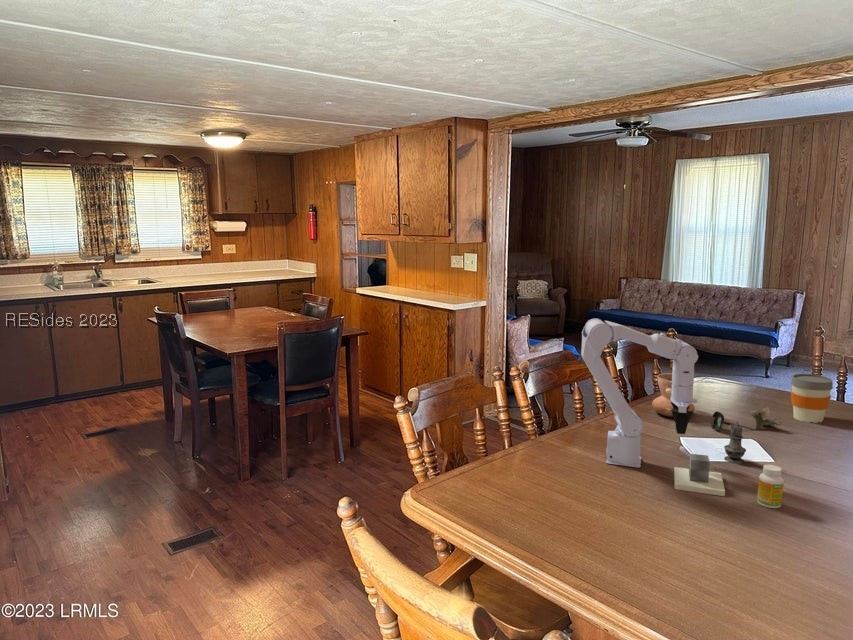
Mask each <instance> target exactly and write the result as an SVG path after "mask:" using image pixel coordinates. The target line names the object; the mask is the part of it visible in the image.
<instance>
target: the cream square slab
mask: <svg viewBox="0 0 853 640" xmlns="http://www.w3.org/2000/svg"><path fill="white" fill-rule="evenodd" d="M673 473H674V474H673V476H674V477H673V478H674V480H673V481H674V483H673V484H674V490H679V491H686V492H692V493H699V494H700V493H701V494H707V495H713V496H719V497H720V496H722V497H725V495H726V494H725V493H726V490H725V486H724V481H723V480H724V479H723V476H722V472H716V471H715V472H714V471H709V480H708V483H704V482H696V481H690V478H689V468H685V467H678V466H674V468H673Z"/></svg>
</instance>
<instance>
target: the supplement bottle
mask: <svg viewBox="0 0 853 640" xmlns="http://www.w3.org/2000/svg"><path fill="white" fill-rule="evenodd" d="M782 471H783V470H782V468H781V467H780V466H777V465H775V464H764V465H763V467H762V472H761V473H760V474H759V476H758V477H759V478H758V486H757V488H758V489H757V500H756V501H757V503H758V504H759V505H761V506H762V507H766V508H769V509H778V508H781V507H782V504H783V494H784V485H785V484H784V483H785V480H784V477H783V476H781V475H782Z"/></svg>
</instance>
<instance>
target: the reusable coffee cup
mask: <svg viewBox="0 0 853 640" xmlns="http://www.w3.org/2000/svg"><path fill="white" fill-rule="evenodd" d="M790 384H791V390H790V396H791V397H790V400H791V404H792V411H793V418H794V419H795V420H798V421H801V422H804V421H805V422H804V423H810V422H813V423H812V424H818V422H820V423H823V422H822V421H824V418H825V414H826V410H827V409H828V408H829V405H830V402H831V396H832V395H831V391H832V390H834V389H833V388H834V387H833V379H832V378H830V377H827V376H824V375H819V374H812V373H795V374H793V375H792V376H791V380H790Z"/></svg>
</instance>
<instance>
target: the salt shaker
mask: <svg viewBox="0 0 853 640" xmlns="http://www.w3.org/2000/svg"><path fill="white" fill-rule="evenodd" d="M732 424H733V425H731V427H730V434H729V443H728V444H726V445H724V446H723V449H724V452H725V454H726V456H724V457H723V458H724V460H725V461H727V462H729V463H732V464H744V462H745V460H744V459H743V458H742V457H744V455H745V453H746V452H747V449H746V448H745V447H743V445H742V439H743V438H744V437H743V435H742V434H743V427H742V426H741V425H742V424H739V421H736V422H735V423H732Z"/></svg>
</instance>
